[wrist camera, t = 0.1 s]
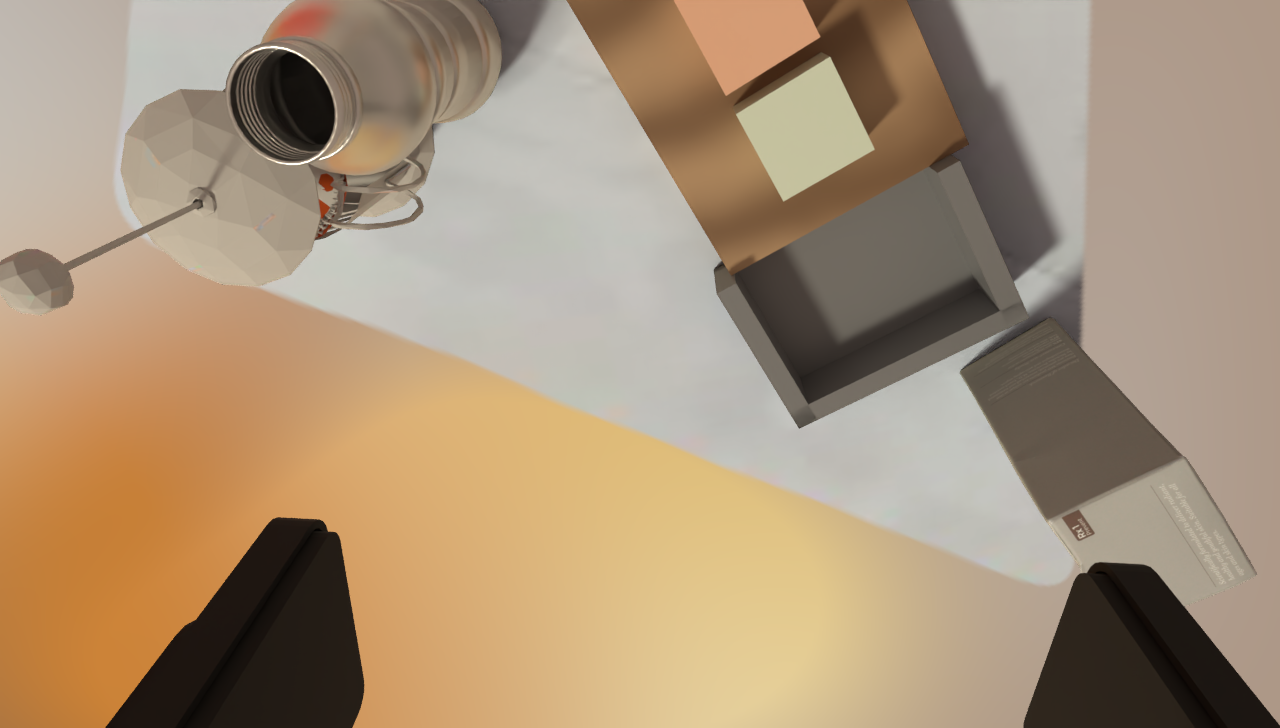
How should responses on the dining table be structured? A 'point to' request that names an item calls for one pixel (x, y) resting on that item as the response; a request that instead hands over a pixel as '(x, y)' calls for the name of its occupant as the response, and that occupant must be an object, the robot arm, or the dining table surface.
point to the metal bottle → (361, 80)
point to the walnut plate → (704, 116)
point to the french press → (221, 203)
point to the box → (874, 294)
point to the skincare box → (1103, 466)
